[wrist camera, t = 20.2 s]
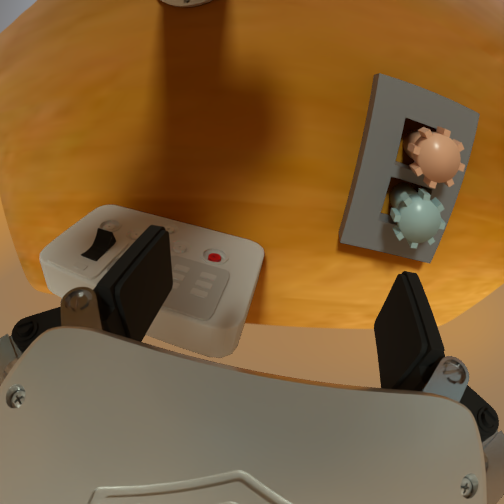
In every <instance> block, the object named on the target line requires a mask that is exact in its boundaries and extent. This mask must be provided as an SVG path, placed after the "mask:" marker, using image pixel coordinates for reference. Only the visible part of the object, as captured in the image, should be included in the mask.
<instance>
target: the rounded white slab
mask: <svg viewBox="0 0 504 504" xmlns="http://www.w3.org/2000/svg"><path fill="white" fill-rule="evenodd" d="M150 225H157V226H163V227H165V229H166V231H168V232H169V238H170V252H171V264H172V276H173V287H172V290H171V292H170V293H169V295H168V297H167V298H166V300H165V302H164V303H163V305H162V307H161V308H160V310H159V312H158V314H157V315H156V317H155V319H154V320H153V322H152V324H151V326H150V327H149V329H148V331H147V333H146V334H145V335H148V336H150V337H153V338H156V339H158V340H161V341H164V342H166V343H169V344H172V345H175V346H178V347H180V348H183V349H186V350H189V351H192V352H195V353H198V354H202V355H205V356H208V357H216V358H222V357H225V356H227V355H230V354H232V353H233V351H234V350H235V348H236V347H237V346H238V342H239V339H240V336H241V333H242V330H243V327H244V324H245V320H246V317H247V314H248V311H249V308H250V304H251V301H252V298H253V295H254V292H255V288H256V285H257V282H258V278H259V274H260V270H261V266H262V262H263V258H264V249H263V248H262V247H261V246H260V245H259V244H258V243H256V242H253V241H251V240H248V239H244V238H240V237H236V236H233V235H229V234H225V233H221V232H218V231H214V230H210V229H206V228H202V227H199V226H195V225H191V224H187V223H183V222H179V221H176V220H172V219H168V218H164V217H160V216H156V215H152V214H148V213H145V212H141V211H137V210H133V209H129V208H125V207H121V206H117V205H104V206H101V207H98V208H96V209H95V210H93V211H92V212H90V213H89V214H88V215H86V216H85V217H84V218H82V219H81V220H79V221H78V222H77V223H75V224H74V225H73V226H71V227H70V228H69V229H67V230H66V231H65V232H63V233H62V234H61V235H60V236H58V237H57V238H56V239H55V240H53V241H52V242H51V243H50V244H48V245H47V246H46V247H45V248H44V249H43V250H42V251H41V253H40V263H41V266H42V270H43V273H44V276H45V280H46V283H47V286H48V289H49V290H50V291H51V292H52V293H54V294H56V295H58V296H59V297H62V298H63V296H64V295H65V294H66V293H67V292H68V291H70V290H71V289H74V288H77V287H88V288H91V289H92V290H93V289H94V288H95V287H96V286H97V283H98V282H99V281H100V280H101V278H102V277H103V276H104V275H105V274H106V273H107V271H108V270H109V269H110V268H111V267H112V266H113V265H114V264H115V262H116V261H117V260H118V259H119V258H120V257H121V256H122V255H123V254H124V252H125V251H126V250H127V249H128V248H129V247H130V246H131V245H132V244H133V243H134V242H135V241H136V240H137V238H138V237H139V236H140V235H141V234H142V233H143V232H144V231H145V230H146V229H147V228H148V227H149V226H150Z"/></svg>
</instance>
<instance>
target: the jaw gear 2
mask: <svg viewBox="0 0 504 504" xmlns="http://www.w3.org/2000/svg"><path fill="white" fill-rule="evenodd" d="M430 196H431V195H430V194H429V193H428V192H427V191H426V190H425V189H422V188H419V190H418V192H417V191H416V190H415V189H414V188H413V187H412V186H411V185H409V184H407V183H400V184H398V185H396V186H395V187H394V188H393V189H392V190H391V192H390V196H389V199H390V203H391V205H392V207H393V208H391V212H390V215H391V217H392V219H393V221H394V222H397V225H396V226H394V227H393V230H394V232H395V234H396V236H397V238H398V239H399V241H400V240H401V239H403V238H404V237H405V238H406V240H407V242H408V244H409V246H410V248H416V249H417V245H418V243H423V242H426V241H428V243H429V244H430V245H431V244H432V243H434V242H435V240H434V238H433V236H434V235H435V234H436V233H437V231H438V229H443V230H444V228H445V225H446V223H445V222H444V220H443V219H442V218H441V215H440V212H441V211H443V210H444V207H443V205H442V203H441V202H440V201H439V200H438V199H437V198H436V197H435V198H434V199H432V200H430Z"/></svg>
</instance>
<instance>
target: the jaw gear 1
mask: <svg viewBox="0 0 504 504" xmlns="http://www.w3.org/2000/svg"><path fill="white" fill-rule="evenodd" d="M437 132H438V133H437ZM450 134H451V131H449V130H447V129H444V128H442V127H439V126H437V131H436V132H431V130H430V129H428V128H425V127H422V128H421V129H419V130H417V129H415V130H411V131H409V132H408V133H407V134H406V135H405V137H404V139H403V148H404V151H405V153H406V154H407V155H408V156H409V157H410V158H412V159H413V160H414V163H412V164H410V165H409V166H410V168H411V170H412V171H413V172H414V173H415V174H416V175H417V176H420V175H421V174H424V175H425V176H424V180H423V181H424V182H425V183H426V184H427V185H428V186H429V187H431V188H434V189H435V188H436V184H437V183H445V184H446V185H447V186H448V187H450V186H452V185H453V184H454V182H453V179H452V178H453V177H454V176H455V175H456V173H457V172H458V170H460V171H462V172H463V171H464V168H465V165H464V164H462V163H461V162H460V161H461V157H460V152H461V151H462V150H464V147H463V144H462V142H459V141H457V140H455V139H453V140H452V139H451V138H449V137H450Z"/></svg>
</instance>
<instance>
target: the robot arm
mask: <svg viewBox="0 0 504 504" xmlns="http://www.w3.org/2000/svg"><path fill="white" fill-rule="evenodd" d="M161 1H162V2H164V3H167V4H169V5H172V6H176V7H193V6H198V5H202V4H205V3H208V2H210V1H212V0H161ZM188 1H189V2H188ZM172 287H173V276H172V264H171V252H170V238H169V232H168V231H166V229H165V227H163V226H157V225H150V226H149V227H148V228H147V229H146V230H145V231H144V232H143V233H142V234H141V235H140V236H139V237H138V238H137V240H136V241H135V242H134V243H133V244H132V245H131V246H130V247H129V248H128V249H127V250H126V251H125V252H124V254H123V255H122V256H121V257H120V258H119V259H118V260H117V261H116V262H115V264H114V265H113V266H112V267H111V268H110V269H109V270H108V271H107V273H106V274H105V275H104V276H103V277H102V278H101V280H100V281H99V282H98V283H97V286H96V287H95V288H94V289H93V290H92V289H91V288H88V287H77V288H74V289H71V290H70V291H68V292H67V293H66V294H65V295H64V296H63V298H62V300H61V307H58V308H55V309H51V310H48V311H45V312H42V313H39V314H35V315H32V316H29V317H26V318H23V319H21V320H20V321H19V322H18V323H17V324H16V325H15V326H14V328H13V330H12V335H11V336H9V335H8V334H6V335H5V336H3V337H1V338H0V504H496V503H497V502H498V501H499V500H500V498H502V496H503V495H504V434H503V432H502V431H499V432H498V431H497V429H498V426H499V420H498V415H497V413H496V411H495V410H494V409H493V408H492V407H491V406H490V405H489V404H488V403H487V402H486V401H485V400H484V399H482V398H481V397H480V396H479V395H478V394H477V393H476V392H475V391H473V390H472V389H471V388H470V387H469V386H468V385H467V384H468V381H469V372H468V370H467V367H466V366H465V364H464V363H463V362H462V361H461V360H459V359H457V358H456V357H452V356H447V357H445V354H444V346H443V343H442V340H441V337H440V334H439V331H438V328H437V325H436V322H435V319H434V316H433V313H432V310H431V308H430V305H429V302H428V300H427V297H426V294H425V292H424V289H423V287H422V284H421V282H420V279H419V277H418V275H417V274H416V273H412V272H407V271H404V272H403V273H402V274H398V276H397V278H396V280H395V282H394V284H393V286H392V288H391V290H390V293H389V295H388V297H387V299H386V301H385V303H384V305H383V307H382V309H381V311H380V313H379V315H378V317H377V318H376V321H375V324H374V331H375V338H376V346H377V353H378V362H379V371H380V381H381V388H372V387H361V386H351V385H341V384H332V383H325V382H317V381H310V380H303V379H297V378H291V377H285V376H279V375H273V374H268V373H262V372H257V371H252V370H248V369H243V368H238V367H233V366H229V365H224V364H220V363H216V362H212V361H208V360H204V359H200V358H196V357H192V356H188V355H184V354H181V353H177V352H173V351H170V350H166V349H163V348H159V347H156V346H152V345H149V344H146V343H143V342H141V341H142V339H143V338H144V336H145V334H146V333H147V331H148V329H149V327H150V326H151V324H152V322H153V320H154V319H155V317H156V315H157V314H158V312H159V310H160V308H161V307H162V305H163V303H164V302H165V300H166V298H167V297H168V295H169V293H170V292H171V290H172Z"/></svg>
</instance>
